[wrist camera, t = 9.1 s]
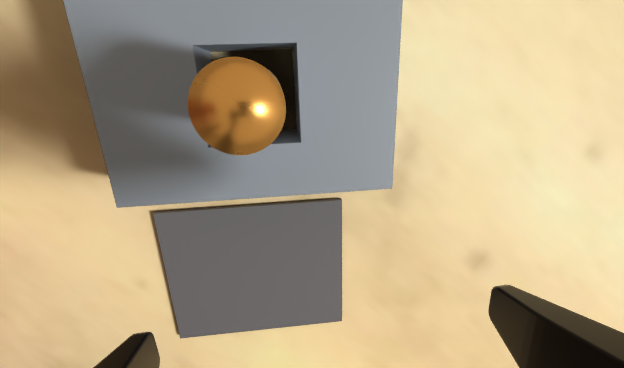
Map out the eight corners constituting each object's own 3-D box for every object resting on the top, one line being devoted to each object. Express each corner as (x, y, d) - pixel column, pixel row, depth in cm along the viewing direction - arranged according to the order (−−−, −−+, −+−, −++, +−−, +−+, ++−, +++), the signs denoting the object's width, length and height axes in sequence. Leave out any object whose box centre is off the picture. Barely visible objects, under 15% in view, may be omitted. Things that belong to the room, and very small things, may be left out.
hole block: (148, 181, 19) (116, 207, 15) (107, -5, 16) (55, -29, 12) (370, 167, 20) (392, 188, 17) (376, -8, 17) (404, -31, 13)
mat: (181, 335, 23) (180, 338, 23) (154, 211, 20) (152, 213, 20) (341, 318, 24) (341, 320, 24) (340, 198, 21) (341, 200, 21)
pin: (232, 120, 19) (195, 158, 10) (226, 66, 18) (179, 58, 9) (283, 118, 19) (288, 152, 10) (279, 64, 18) (282, 55, 9)
